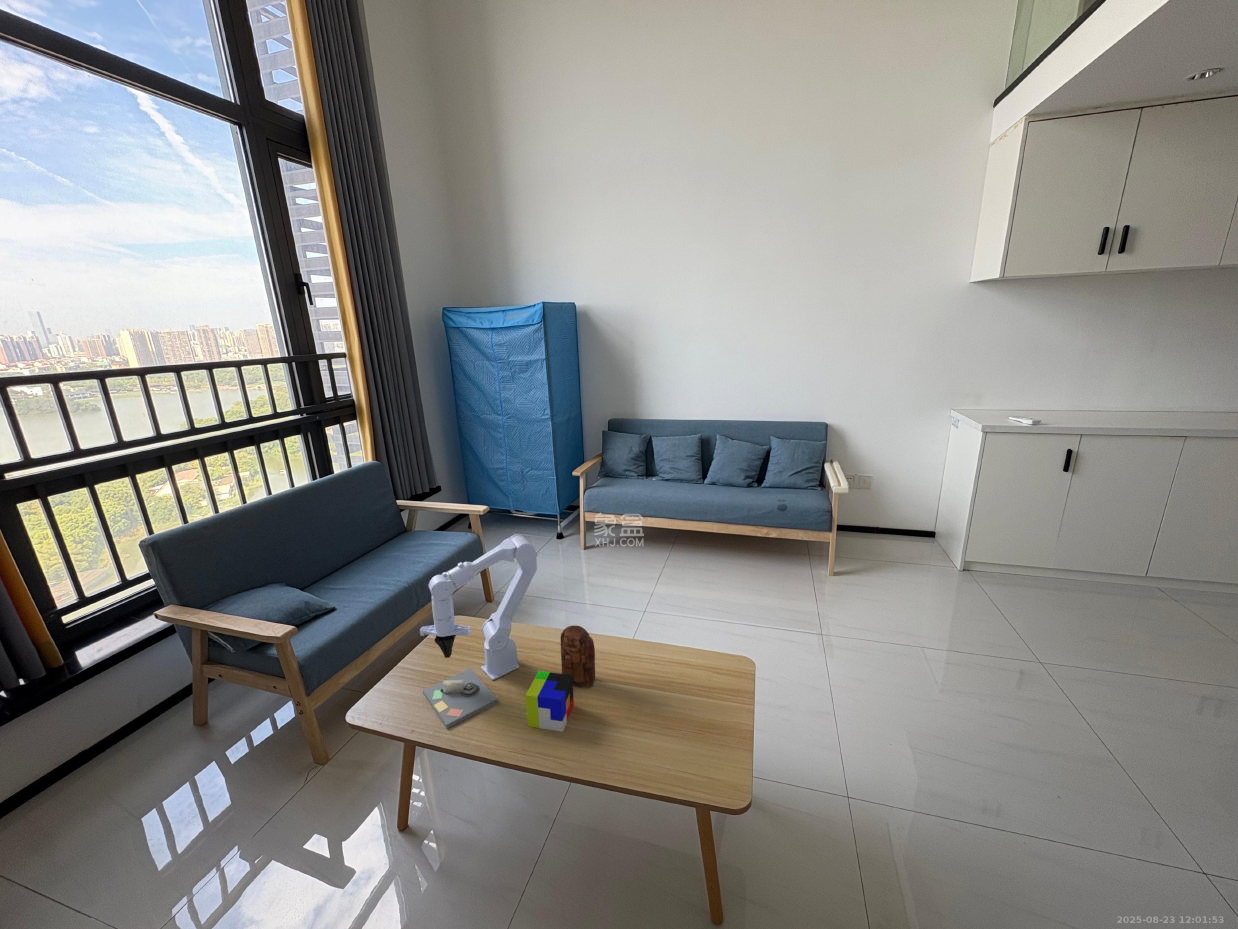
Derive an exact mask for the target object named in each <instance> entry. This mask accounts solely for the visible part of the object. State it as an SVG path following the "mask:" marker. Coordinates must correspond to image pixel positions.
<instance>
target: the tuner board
mask: <svg viewBox="0 0 1238 929" xmlns="http://www.w3.org/2000/svg"><path fill="white" fill-rule="evenodd" d="M446 680H464V683H465V685H466V684H467V683H473V684H476V685H477V691H476V692H475V693H474V694H471V695H465V694H464V693H463V692H458V693H444V692H440V690H441V689H443V682H444V681H446ZM422 694H423V696H424V697H425V698H426V700H427V702H428V703H429V705H430V706H431V707H432V709H433V711H434V712H435V714H436V715H437V717H438V718H439V719H440V721H441V723H442V724H443V726H444V727H445V728H446V729H449V728H450V727H452V726H455V725H456V724H459V723H460V722H462V721H464V720H466V719H468V718H470V717H472V716H474V715H476V714H478V713H479V712H482V711H483V710H486V709H487V708H489V707H492V706H493V705H495V704H497V703H498V698H497V697H496V695H494V693H493V692H492V691H491V689H490V688H489V687H488V686H487V685H486V684H485V683H484V682H483V681H482V679H481V678H480V677H479V676H478V675H477V674H476V672H474V670H473V669H472V668H469V669H466V670H464V671H462V672H460V673H458V674H455V675H452V676H451V677H448V678H447V679H444V680H442V681H439V682H437V683H435V684H433V685H430V686H429V687H426V688H423V689H422Z"/></svg>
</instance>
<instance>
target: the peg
mask: <svg viewBox="0 0 1238 929" xmlns="http://www.w3.org/2000/svg"><path fill="white" fill-rule="evenodd" d="M445 680H446V679H445ZM443 681H444V680H443ZM476 691H477V685H476V684H473V683H467V684H466V685H465V683H464V680H446V681H444V682H443V689H441V690H440V692H444V693H458V692H463V693H464V694H465V695H471V694H474V693H475V692H476Z"/></svg>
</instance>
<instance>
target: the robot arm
mask: <svg viewBox="0 0 1238 929" xmlns="http://www.w3.org/2000/svg"><path fill="white" fill-rule="evenodd" d="M537 557H538V552H537V550H536V548H535V546H534V545H533V544H531V543H530V542H529V541H528V540H527V538H526V536H525V535H523V534H521V533H515V534H513V535H512V536H510V537H508V538H506V539H504V540H503V541H502V542H501V543H499V545H497V546H495V547H494V548H493V549H491V550H489V551H488V552H486V553H484V554H483V555H481V556H480V557H478V558H476V559H475V560H473V561H464V562H459V563H457V565H456V566H455V567H453V568H451V569H449V570H448V571H444V572H442V573H441V574H436V575H435V576H433V577H432V578H431V579H430V580H429V583H428V584H427V586H428V587H427V588H428V589H429V591H430V593H431V599H430V600H431V608H432V616H433V624H432V625H425V626H421V627H420V629H419V634H420V637H421V636H422V637H424V636H425V635H426V636H427V635H431V636H435V638H434V643H435V644H437V646H438V647H439V648H440V650H441V651H442V654H443V656H444V658H445V659H448V658H450V657H451V655H452V654H453V652H452V651H453V647H454V646H453V645H454V641H455V639H456V637H457V636H458V635H459V636H466V637H470V635H471V634H472V627H471V626H465V625H461V624H457V623H456V620H455V610H454V609H455V608H454V602H453V598H452V595H453V593H454V592H455V591H456V590H458V589H459V588H461V587H463V586H464V585H466V584H468V583H470V582H472V581H473V580H475V579H476V578H477V575H478V573H479V572H481V571H483V570H485V569H487V568H490V567H491V566H493V565H495V564H497V563H499V562H502V561H505V562H506V561H507V562H511V563H514V562H516V564H517V567H518V568H517V570H516V572H515V575H513V576H514V577H512V580H511V582H510V584H509V587H508V588H507V590H506V592H505V594H504V596H503V598H502V600H501V602H500V604H499V606H498V608H497V610H496V612H493V613H491V614H490V617H489V618H488V619H487V620H486V621H485V622H484V623H483V624H482V626H481V632H482V635H483V636H484V638H485V640H484V644H483V648H484V660H485V664H484V665H481V670H482V671H483V672H484V673H485V674H486V675H487V677H488V678H489V679H490V680H491V681H494V680H496V679H498V678H500V677H502V676H504V675H506V674H509V673H511V672H513V671H515V670H516V669H519V668H520V665H519V663H518V662H519V659H518V648H517V643H516V642H515V640H514V639H513V638H512V637H511V636H510V634H511V633H512V620H513V618H514V616H515V614H516V612H517V610H518V608H519V606H520V605H521V602H522V600H523V598H524V596H525V595H526V592H527V591H528V588H529V587H530V584H531V582H532V580H533V578H534V576H535V574H536V572H537V569H538V566H537V565H538V563H537Z"/></svg>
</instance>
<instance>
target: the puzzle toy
mask: <svg viewBox="0 0 1238 929" xmlns="http://www.w3.org/2000/svg"><path fill="white" fill-rule="evenodd" d="M574 702H575V700H574V686H573V675H568V674H562V673H558V672H551V671H542V670H538V672H537V674H536V675H535V677H534V679H533V681H532V682H531V685H530V686H529V688H528V690H527V692H526V693H525V705H526V706H525V707H526V720H527V727H528V728H529V727H530V728H535V729H536V728H537V729H542V730H550V731H555V732H556V731H557V732H562V733H563V732H564V731H565V728H566V725H567V723H568V721H569V718H570V716H571V713H572V710H573V708H574V707H575V703H574Z"/></svg>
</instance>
